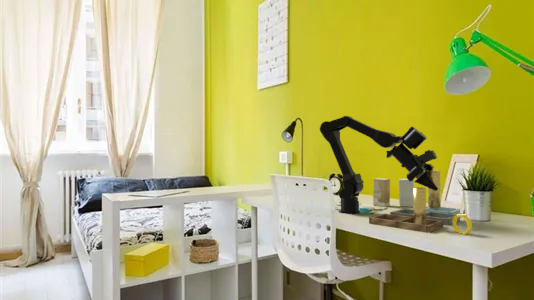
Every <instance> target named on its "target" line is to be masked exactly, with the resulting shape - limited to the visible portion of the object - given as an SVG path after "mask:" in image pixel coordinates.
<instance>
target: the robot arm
mask: <svg viewBox="0 0 534 300" xmlns="http://www.w3.org/2000/svg"><path fill="white" fill-rule="evenodd" d="M345 128H349V129H352V130H353V131H356V132H357V133H359V134H362V135H363V136H366V137H369V138H370V139H371V140H372V141H373V142H374V143H376V144H377V145H378V146H380V147H382V148H385V149H387V148H388V149H390V150H386V151H385V153H386V158H387V159H390V158H392V157H393V158H395V160H396V161H398V163H400V164H401V167H402V168H405V170H406V171H408V173H407V174H406V179H408V180H409V181H410V182H412V181H413V179H414V184H415V183H416V184H418V185H421V186H423V187H425V188H430V189H433V190H435V191H437V190H438V188H437V186H436V185H435V184H434V182H433V181H432V180H431V178H430V177H429V171H434V168H435V166H434V165H433V164H432V163H428V162H430V161H432V160H436V159H438V156H437V155H436V154H437V153H436V152H435V150H431V149H428V150H425V151H424V153H422V154H420V155H418V154H414V152H412V151H411V150H412V149H413V150H416V149H418V147H419V146H420V145H422V144H423V143H424V142H425V141H426V140H427V139H428V138H427V136H426V135H425V134H424V133H423V132H421V131H419V130H418V129H417V128H416V127H414V126H410V127H409V128H408V130H407V131H406V132H405V133H404V134H403V135H402V136H400V135H398V136H397V135H396V134H395V133H392V132H388V131H385V130H380V129H376V128H374V127H372V126H370V125H368V124H366V123H364V122H362V121H359V120H357V119H356V118H353V117H352V116H349V115H344V116H341V117H339V118H336V119H333V120H330V121H327V120H326V121H323V122H322V123H321V124H320V126H319V131H320V133H321V134H322V137H323V138H324V139H325V140H326V141H327V142H328V144H329V145H330V148H331V150H332V152H333V155H334V158H335V160H336V162H337V164H338V167H339V169H340V171H341V172H340V173H341V174H342V184H343V185H342V186H343V188H342V189H341V190H340V191H339V192H338V193H337V194H338V196H339V198H340V210H338V213H344V214H350V215H351V214H357V213H360V212H361V210H360V202H359V195H360V193H361V192H362V191H363V190H364V183H365V182H364V180H363V179H362V175H361V173H356V172H355V171H354V169H353V167H352V165H351V164H352V163H351V162H350V160H349V157H348V156H347V153H346V150H345V148H344V146H343V144H342V141H341V131H343V130H344V129H345ZM397 144H398V145H397ZM441 187H442V186H440V189H441Z"/></svg>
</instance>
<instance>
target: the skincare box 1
mask: <svg viewBox="0 0 534 300" xmlns="http://www.w3.org/2000/svg"><path fill="white" fill-rule="evenodd" d="M372 180H373V183H372V184H373V187H372V192H373V194H372V205H373V206H375V205H376V206H378V207H384V208H386V207H390V205H391V201H390V200H391V179H390V178H381V177H377V178H373V179H372Z"/></svg>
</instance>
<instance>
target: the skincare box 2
mask: <svg viewBox="0 0 534 300" xmlns="http://www.w3.org/2000/svg"><path fill="white" fill-rule="evenodd" d="M414 181H415V178H414V179H413V181H412V182H410V181H409V180H408V179H407V178H399V179H398V193H399V194H398V197H399V199H398V200H399V201H398V202H399V207H408V208H410V207H411V208H413V188H415V182H414Z"/></svg>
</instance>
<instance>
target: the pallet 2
mask: <svg viewBox="0 0 534 300" xmlns="http://www.w3.org/2000/svg"><path fill="white" fill-rule="evenodd" d="M389 214H393V215H400V216H408V217H413V208H411V209H410V208H401V209H398V210H397V209H396V210H393V211H390V212H389ZM455 216H457V215H456V214H448V213H439V212H430V211H426V219H431V220H439V221H443V226H450V225H453V219H454V217H455ZM457 221H458V222H460V221H461V217H458V219H457Z"/></svg>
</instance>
